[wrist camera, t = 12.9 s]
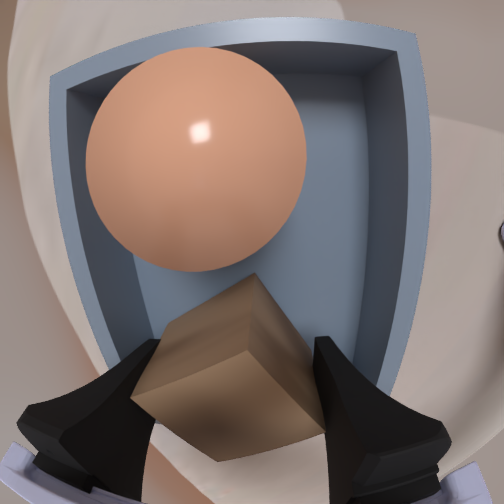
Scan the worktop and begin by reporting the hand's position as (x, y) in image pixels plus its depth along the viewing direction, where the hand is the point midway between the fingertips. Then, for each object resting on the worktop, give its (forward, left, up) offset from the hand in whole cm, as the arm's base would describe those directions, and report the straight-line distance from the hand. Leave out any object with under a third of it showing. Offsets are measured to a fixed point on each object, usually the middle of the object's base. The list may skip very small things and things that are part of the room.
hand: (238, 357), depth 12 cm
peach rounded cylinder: (+6, -6, -3) cm, 9 cm away
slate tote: (+3, -3, -4) cm, 6 cm away
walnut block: (0, 0, -1) cm, 1 cm away
